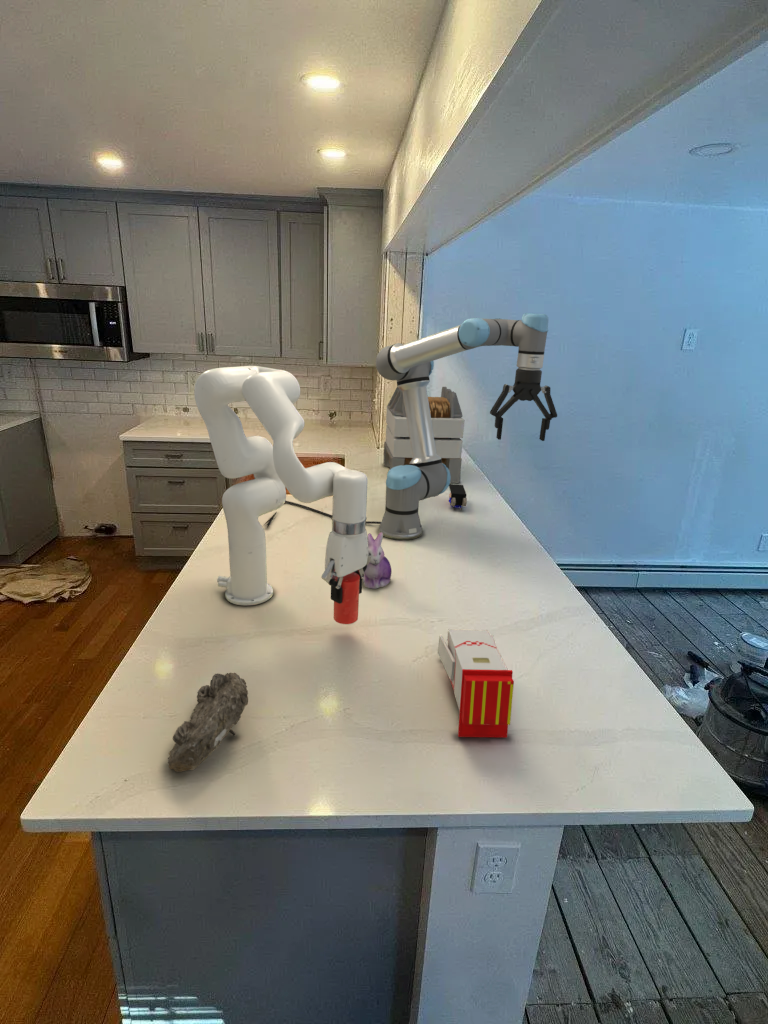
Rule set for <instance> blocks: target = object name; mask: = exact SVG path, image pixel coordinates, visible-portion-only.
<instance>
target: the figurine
mask: <svg viewBox="0 0 768 1024" xmlns="http://www.w3.org/2000/svg"><path fill="white" fill-rule="evenodd" d="M383 538H384V536H383V533H382V532H381V533H380V532H378V534H377V536H376V538H375V539H374V536H373V535H372V533H371V532H369V533H367V540H368V555H369V556H370V557H371V561H370V562H369V564H368V565H367V568H366V570H365V572H364V577H363V578H362V583H363V585H364V587H365V588H368V589H379V588H383V587H386V586H387V585H388V584H389V583H390V582H391V577H392V566H391V562H390V560H389V559H388V558H387V557H386V556H385V551H384V549H383V547H382V543H383Z"/></svg>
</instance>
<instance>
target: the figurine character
mask: <svg viewBox="0 0 768 1024" xmlns="http://www.w3.org/2000/svg"><path fill="white" fill-rule="evenodd" d="M448 488H449V491H450V492H449V494H448V502H449V505H450V507H452V509H453V511H456V509H460V511H463V507H464V508H465V507H467V503H468V498H467V492H466V489H465V487H464V484H457V483H450V484H449V487H448Z"/></svg>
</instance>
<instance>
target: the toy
mask: <svg viewBox="0 0 768 1024" xmlns="http://www.w3.org/2000/svg"><path fill="white" fill-rule="evenodd" d="M446 640H447V643H446V641H445V639H444V636H443V635H442V634H439V637H438V646H437V656H438V657H439V659H440V661H441V663H442V666H443V668H444V670H445V672H446V674H447V677H448V679H449V681H450V684H451V687H452V690H453V693H454V697H455V701H456V705H457V708H458V711H459V714H458V715H459V716H458V730H457V731H458V732H457V737H458V738H508V731H509V726H510V725H511V717H512V707H513V697H514V696H513V695H514V684H515V680H514V679H513V673H514V671H513V670H512V669H508V667H507V665H506V662H505V661H504V659H503V658H502V655H501V653H500V651H499V649H498V647H497V643H496V639H495V637H494V635H493V634H491V632H490V631H489V629H467V628H466V629H465V628H463V629H461V628H460V629H459V628H448V630H447V639H446Z"/></svg>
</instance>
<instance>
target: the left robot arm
mask: <svg viewBox="0 0 768 1024" xmlns="http://www.w3.org/2000/svg"><path fill="white" fill-rule="evenodd" d="M193 391H194V393H193V394H194V401H195V405H196V407H197V410H198V413H199V414H200V417H201V418H202V420H203V422H204V425H205V427H206V430H207V433H208V436H209V441H210V444H211V447H212V451H213V454H214V458H215V462H216V464H217V468H218V471H219V472H220V474H221V476H223V477H224V478H226V479H233V480H234V479H238V478H243V477H247V476H251V475H253V479H248V480H245V481H242V482H238V483H235V484H233V485H231V486H229V487H228V488H227V489H226V490H225V491H224V493H223V494H222V498H221V506H222V510H223V513H224V517H225V523H226V528H227V529H226V530H227V542H228V543H227V544H228V557H229V575H230V576H223V575H218V576H217V578H216V580H217V587H219V588H225V589H226V590H225V593H224V596H225V599H226V600H227V601H228V603H229V602H230V603H231V604H233V605H236V606H237V605H238V606H257V605H260V604H263V603H265V602H267V601H269V600H270V599H271V598H272V597H273V595H274V588H273V587H272V585H271V584H270V583H268V571H267V569H268V568H267V539H266V536H267V535H266V531H265V527H264V526H263V525H262V524H261V522H260V520H259V517H262V516H263V515H266V514H269V513H272V512H274V511H277V510H279V509H280V508H282V507H283V506H284V505H285V504H286V503H285V501H287V492H288V493H289V494H290V495H291V496H292V497H293V498H294V499H295V500H296V501H298V502H300V503H302V504H311V503H314V502H318V501H320V500H322V499H326V498H328V497H329V498H330V497H332V513H331V515H332V517H331V531H330V532H329V534H328V537H327V542H326V546H325V558H324V571H323V573H322V575H321V577H320V578H321V579H322V580H323V581H324V582H326V583H327V584H328V585H329V586H330V600H331V601H333V602H334V601H335V602H337V603H339V604H340V603H342V593H343V588H342V587H341V584H342V580H343V577H344V576H345V575H348V574H350V573H352V572H355V573H357V574H358V575H359V576H360V584H359V595H361V594H362V593H363V592H362V590H363V577H364V572H365V570H366V568H367V565H368V564H369V562H370V561H371V557H370V556H369V555H368V540H367V536H368V532H367V528H366V525H367V524H366V521H367V520H368V519H367V518H368V517H367V507H368V506H367V505H368V503H367V502H368V485H369V484H368V482H369V481H368V476H367V474H366V473H365V472H363V471H361V470H356V469H350V468H347V467H346V466H343V465H342V464H340V463H338V462H334V461H326V462H323V463H320V464H319V463H318V464H315V465H312V466H309V467H305V466H304V464H303V463H302V462H301V460H300V459H299V457H298V456H297V454H296V451H295V449H294V440H295V439H296V438H298V436H299V435H300V434H301V433H302V432H303V430H304V428H305V419H304V418H303V416H302V414H300V412H299V411H298V409H297V408H296V406H295V405H294V404H296V403H297V402H298V401H299V399H300V397H301V386H300V383H299V381H298V378H296V377H295V375H294V374H293V373H291V372H289V371H287V370H284V369H278V368H271V367H266V366H259V365H239V366H225V367H215V368H211V369H207V370H206V371H204V372H202V373H201V374H199V376H198V377H197V379H196V381H195V383H194V390H193ZM241 402H246V403H247V405H248V406H249V408H250V409H251V411H252V412H253V413H254V415H255V416H256V418H257V419H258V421H259V422H260V424H261V425H262V426H263V428H264V430H265V431H266V432H267V434H268V435H269V436H270V438H271V439H272V443H273V444H272V443H271V442H270V440H268V438H266V437H264V436H261V435H251V436H246V434H245V431H244V427H243V424H242V421H241V418H240V417H239V415H238V414H237V412H235V411H234V410H233V409H232V408H231V406H229V404H231V403H233V404H234V403H241ZM336 576H337V577H338V580H337V582H336V581H335V578H336Z"/></svg>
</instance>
